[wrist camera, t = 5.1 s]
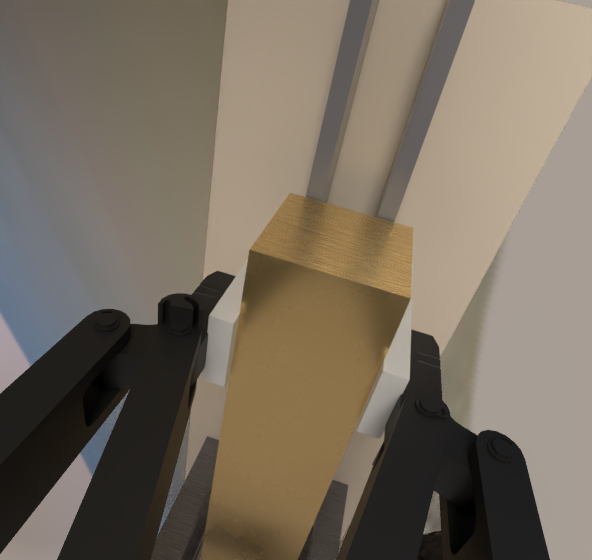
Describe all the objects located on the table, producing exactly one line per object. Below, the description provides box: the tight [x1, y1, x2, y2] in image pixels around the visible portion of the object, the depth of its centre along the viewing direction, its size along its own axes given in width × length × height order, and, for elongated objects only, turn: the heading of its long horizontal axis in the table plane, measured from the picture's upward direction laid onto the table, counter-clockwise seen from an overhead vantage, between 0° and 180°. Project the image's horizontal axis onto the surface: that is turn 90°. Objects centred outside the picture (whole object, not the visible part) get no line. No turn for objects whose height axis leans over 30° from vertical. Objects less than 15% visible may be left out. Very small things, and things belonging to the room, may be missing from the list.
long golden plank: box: [200, 193, 413, 560], centre depth 19 cm, size 22×4×4 cm, turn 168°
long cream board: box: [185, 0, 592, 542], centre depth 24 cm, size 40×12×3 cm, turn 168°
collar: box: [151, 436, 348, 560], centre depth 24 cm, size 1×10×11 cm, turn 79°
